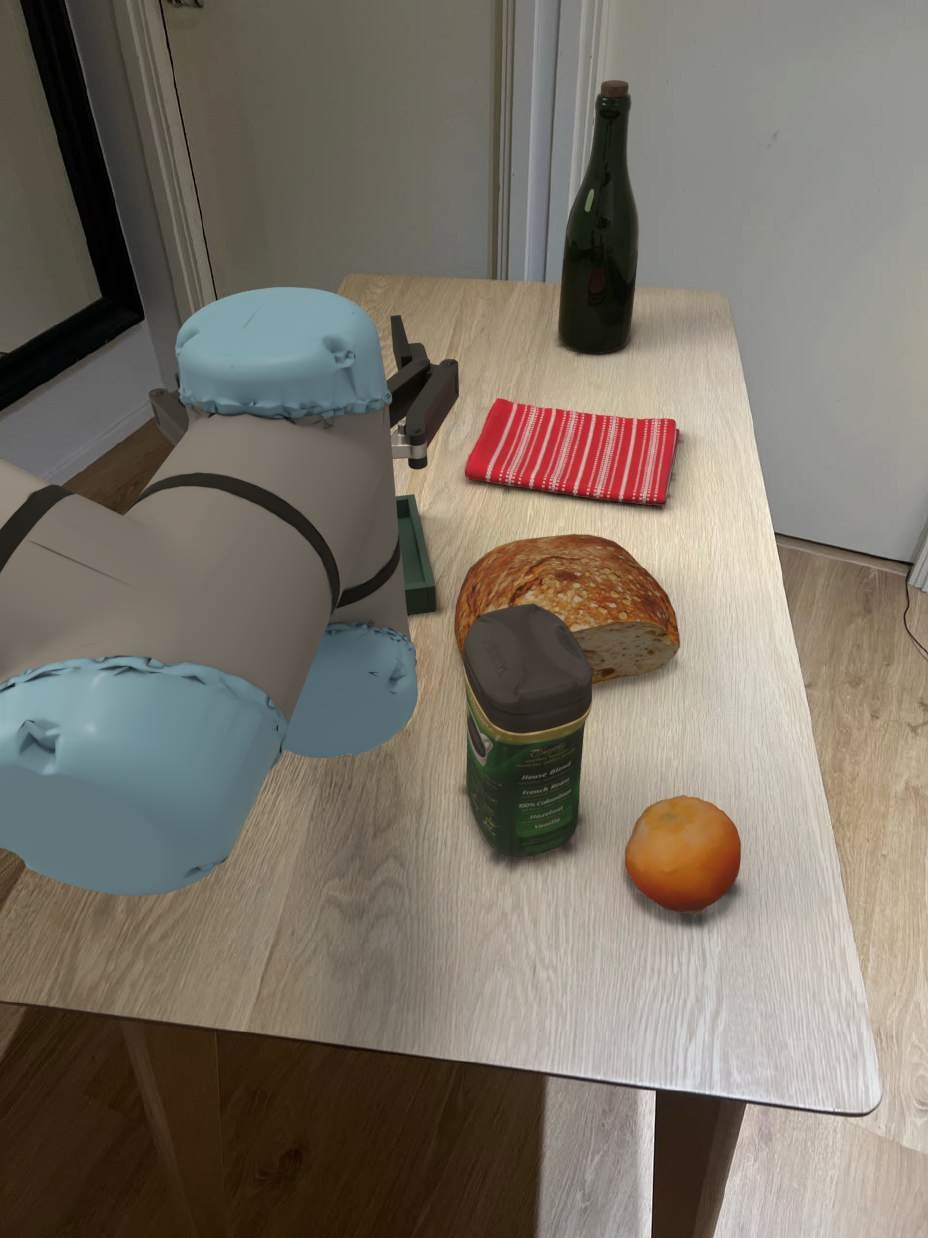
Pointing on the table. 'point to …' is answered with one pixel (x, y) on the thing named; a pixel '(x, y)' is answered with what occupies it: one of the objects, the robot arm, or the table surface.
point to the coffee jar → (525, 728)
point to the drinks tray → (414, 558)
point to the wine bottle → (602, 237)
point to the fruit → (683, 854)
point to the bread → (578, 599)
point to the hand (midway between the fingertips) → (304, 341)
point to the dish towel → (575, 453)
